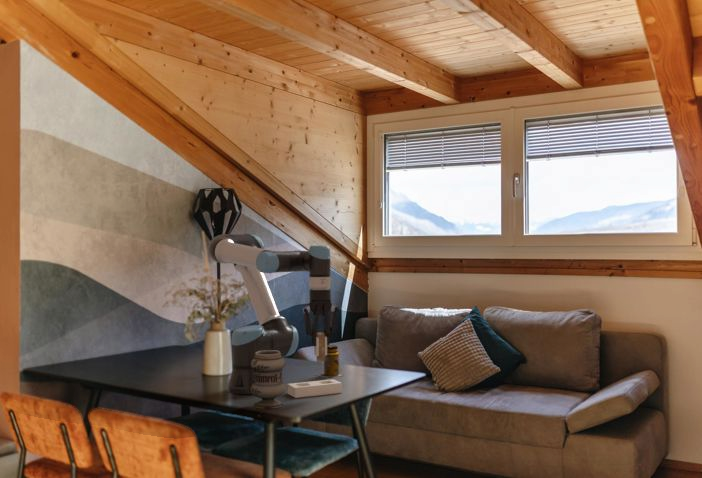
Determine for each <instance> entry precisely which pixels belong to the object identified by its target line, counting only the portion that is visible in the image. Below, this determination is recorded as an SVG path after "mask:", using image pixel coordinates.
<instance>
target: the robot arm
mask: <svg viewBox="0 0 702 478" xmlns="http://www.w3.org/2000/svg"><path fill="white" fill-rule="evenodd" d="M207 252H208V255H209V257H210V259H211V260H213V261H214V262H215V263H217V264H218V263H219V264H233V266H234V270H235V271H236V272H238V273H240V275H241V277H242V280H243V282H244V286H245V288H246V291H247V294H248V298H250V302H251V304H252V307H253V310H254V313H255V316H256V318H257V319H256V320H257V321H258V325H257V324H253V325H245V326H241V327H237V328H236V329H234V330H233V332H232V334H231V341H230V342H231V343H230V344H231V362H232V363H231V367H232V368H231V369H232V370H231V373H230V376H229V377H230V378H229V380H228V383H227V392H228V393H230V394H234V395H253V394H252V393H251V391H250V387H251V385H252V384H253V383H254V370H253V369H252V368H251V366H250V363H251V361H252V360H253V359H254V357H255V353H256V352H258V351H264V350H277V351H280V353H281V357H282V358H285V357H289V356H291V355H293V354H295V352H296V350H297V349H298V346H299V339H300V337H299V333H298V330H297V328H296V326H293V325H291V324H288V321H287V319H286V317H283V316H282V315H280V313H279V308H278V307H277V304H276V302H275V299H274V296H273V294H272V291H271V289H270V286H269V283H268V281H267V277H266V275H265V274H274V273H276V274H277V273H299V272H308V273H309V303H308V304H307V306H305V307H302V309H301V311H302V314H303V318H304V326H305V332H306V335H307V336H309V337H311V346H312V347H313V348H314V349H313V350H314V352H313V354H314V355H315V356H316V357H317V356H319V337H316V336H317V333H318V326H319V319H320V316H321V318H322V325H323V326H322V327H323V333H325V355H327V346H329V345H330V337H331V336H332V335H335V331H336V323H337V314H338V311H339V307H338V306H336V305H333V303H332V299H331V298H332V295H331V294H332V290H331V289H330V288H331V258H332V256H331V248H330V246H329V245H309V248H308V250H287V251H275V250H271V249H265V245H264V242H263V239H261V238H260V237H259V236H258V235H256V234H254V233H253V234H251V233H241V234H238V233H234V234H233V233H232V234H228V233H221V234H219V235H216V236H215V237H213V238H212V239H211V240H210V242H209V244H208V248H207ZM310 311H311V313H312V322H311V316H310ZM329 311H330V321H329V315H328V313H329ZM311 323H312V325H311Z"/></svg>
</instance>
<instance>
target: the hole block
mask: <svg viewBox="0 0 702 478" xmlns="http://www.w3.org/2000/svg"><path fill="white" fill-rule="evenodd" d="M286 387H287V394H288V395H289V396H290V397H291V396H292V397H293V398H295V399H297V398H298V399H299V398H306V397H315V396H325V395H334V394H342V393H343V383H342V382H341V381H339V380H336V379H334V378H333V379H323V380H313V381H312V380H311V381H303V382H302V381H301V382H293V383H287V385H286Z"/></svg>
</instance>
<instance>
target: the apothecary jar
mask: <svg viewBox="0 0 702 478" xmlns="http://www.w3.org/2000/svg"><path fill="white" fill-rule="evenodd" d="M250 366H251V368H252V369H253V370H254V383H253V384H252V385H251V387H250V391H251V393H252V394H251V395H253V396H254V397H257V398H259V399H261V400H259V401H257V402H255V403H254V404H253V408H256V409H259V410H260V409H261V410H262V409H263V410H267V409H270V410H273V409H278V408H282V407H283V406H284V403H283V402H281V401H279V400H277V398H279V397H282V396H283V395H284V394H285V393H286V392H287V390H288V388H287V385H286V383H284V380H283V379H284V377H283V369H284V368H285V367H286V360H285V359H284V357H281V353H280V351H277V350H264V351H258V352H256V353H255V357H254V359H253V360H252V361H251V363H250Z"/></svg>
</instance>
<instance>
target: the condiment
mask: <svg viewBox="0 0 702 478" xmlns="http://www.w3.org/2000/svg"><path fill="white" fill-rule="evenodd" d="M338 350H339V348H338V346H337V345H335V344H334V345H333V344H332V345H331V344H329V345H327V355H325V362H323V371H324V372H323V373H320V374H319V373H318V374H316V375H317V376H318V377H321V378H332V377H333V378H334V377H341V376H343V374H339V373H340V362H339V360H340V355H339V351H338Z"/></svg>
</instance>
